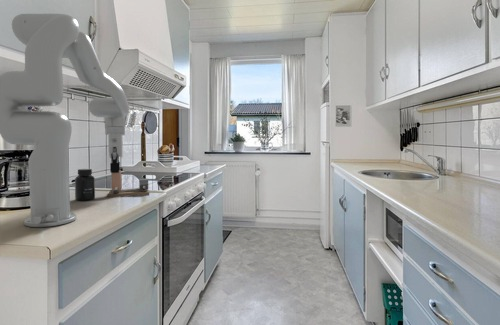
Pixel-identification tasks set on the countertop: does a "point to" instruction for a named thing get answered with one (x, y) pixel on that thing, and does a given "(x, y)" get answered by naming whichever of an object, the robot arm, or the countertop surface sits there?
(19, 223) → the countertop surface
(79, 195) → the supplement bottle
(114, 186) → the sliding leg
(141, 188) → the gauge board
